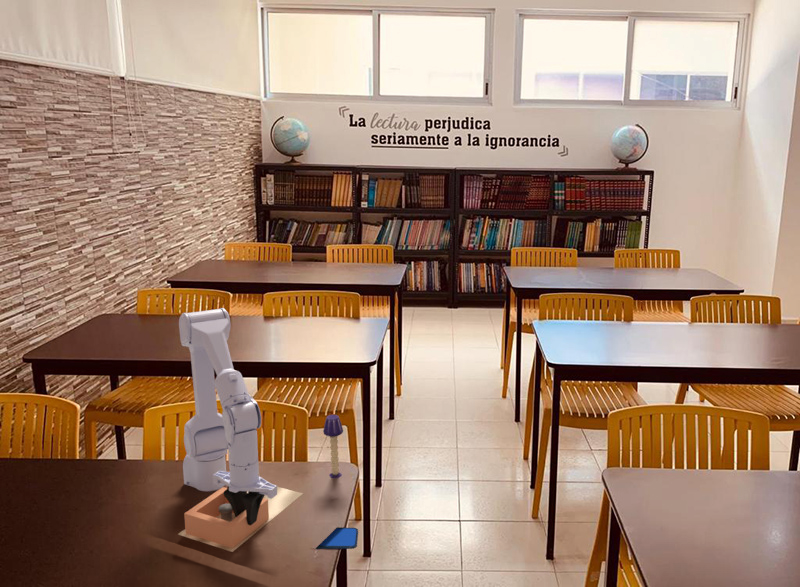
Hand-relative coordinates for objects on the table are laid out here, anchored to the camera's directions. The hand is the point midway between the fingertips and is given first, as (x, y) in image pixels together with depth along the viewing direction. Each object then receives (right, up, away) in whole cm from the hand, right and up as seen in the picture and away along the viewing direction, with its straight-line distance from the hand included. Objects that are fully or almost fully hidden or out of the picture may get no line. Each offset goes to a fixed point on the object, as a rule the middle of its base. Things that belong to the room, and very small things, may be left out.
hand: (246, 520), depth 140 cm
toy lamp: (+16, +1, +24) cm, 29 cm away
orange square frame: (-4, -2, +3) cm, 6 cm away
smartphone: (+15, -4, +1) cm, 16 cm away
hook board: (-2, -2, +8) cm, 9 cm away
